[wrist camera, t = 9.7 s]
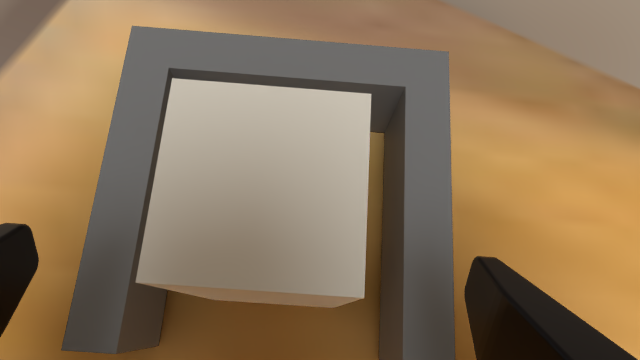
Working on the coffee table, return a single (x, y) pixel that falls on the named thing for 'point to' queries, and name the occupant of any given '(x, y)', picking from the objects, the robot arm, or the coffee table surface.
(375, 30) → the coffee table surface
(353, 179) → the white rectangular block
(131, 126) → the frame
